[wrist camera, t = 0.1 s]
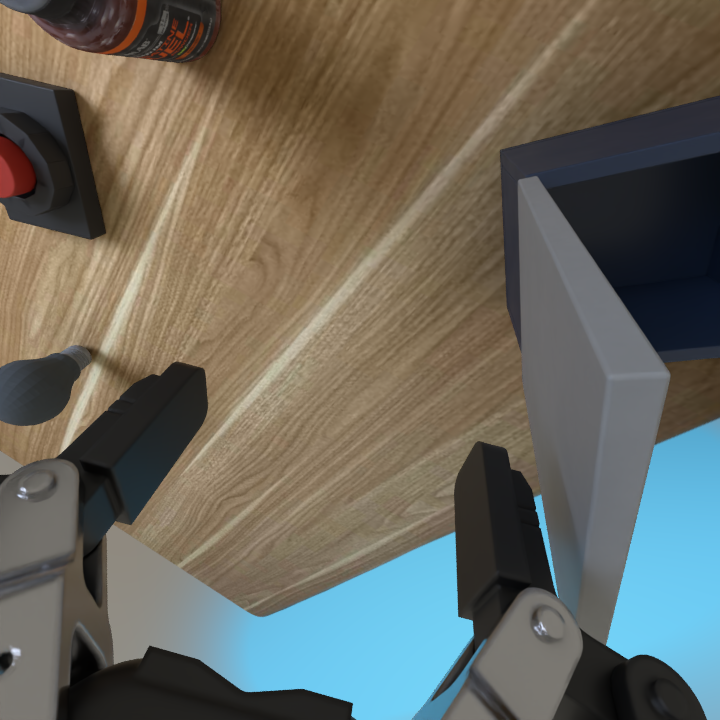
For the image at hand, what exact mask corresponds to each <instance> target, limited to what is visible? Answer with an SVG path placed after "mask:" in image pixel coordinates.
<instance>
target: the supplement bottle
mask: <svg viewBox="0 0 720 720" xmlns="http://www.w3.org/2000/svg"><path fill="white" fill-rule="evenodd" d="M0 3H1V4H3V5H5V6H6V7H8V8H10V9H12V10H15V11H18V12H22V13H25V14H28V15H29V16H30V17H31V18H32V19H33V20H34V21H35V22H36V23H37V24H38V25H39V26H40V27H41V28H42V29H43V30H44V31H46V32H47V33H49V34H50V35H51V36H52V37H54V38H55V39H57V40H59V41H60V42H62V43H64V44H66V45H67V46H70V47H72V48H75V49H78V50H82V51H86V52H92V53H100V54H106V55H116V56H125V57H134V58H144V59H151V60H158V61H167V62H175V63H180V62H181V63H183V62H191V61H195V60H197V59H199V58H201V57H203V56H204V55H205V54H206V53H207V52H208V51H209V50H210V49H211V47H212V45H213V44H214V42H215V40H216V37H217V34H218V31H219V26H220V22H221V3H220V0H0Z"/></svg>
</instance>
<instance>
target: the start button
mask: <svg viewBox="0 0 720 720" xmlns="http://www.w3.org/2000/svg"><path fill="white" fill-rule="evenodd" d="M35 185H36V174H35V171H34V168H33V165H32V163H31V162H30V160H29V159H28V157H27V156H26V155H25V153H24V152H23V151H22V149H21V148H20V147H19V146H17V145H16V144H15V143H14V142H12V141H11V140H9V139H7V138H5V137H2V136H0V198H9V197H13V196H17V195H21V194H25V193H28V192H31V191H32V190H33V189H34V187H35Z"/></svg>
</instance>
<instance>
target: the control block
mask: <svg viewBox="0 0 720 720" xmlns="http://www.w3.org/2000/svg"><path fill="white" fill-rule="evenodd" d="M0 136H2V137H5V138H7V139H9V140H11V141H12V142H14V143H15V144H16V145H17V146H19V147H20V148H21V149H22V151H23V152H24V153H25V155H26V156H27V157H28V159H29V160H30V162H31V163H32V165H33V168H34V171H35V174H36V185H35V187H34V189H33V190H32V191H31V192H28V193H25V194H21V195H17V196H13V197H9V198H0V202H1V203H2V204H3V205H5V207H6V210H7V213H8V215H9V218H10V219H11V220H15V221H19V222H23V223H27V224H31V225H35V226H39V227H43V228H47V229H51V230H55V231H59V232H63V233H67V234H71V235H75V236H79V237H83V238H87V239H94V238H96V237H99V236H101V235H103V234H105V233H106V232H105V227H104V223H103V218H102V214H101V210H100V205H99V201H98V196H97V192H96V187H95V183H94V178H93V174H92V170H91V165H90V161H89V156H88V152H87V147H86V143H85V139H84V134H83V130H82V125H81V121H80V116H79V112H78V107H77V103H76V99H75V94H74V91H73V90H72V89H67V88H63V87H59V86H55V85H51V84H46V83H42V82H38V81H34V80H30V79H25V78H21V77H17V76H13V75H9V74H4V73H0Z"/></svg>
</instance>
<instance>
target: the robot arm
mask: <svg viewBox="0 0 720 720" xmlns="http://www.w3.org/2000/svg"><path fill="white" fill-rule="evenodd" d="M207 410H208V400H207V388H206V376H205V370H204V369H203V368H200V367H197V366H193V365H189V364H185V363H181V362H174V363H172V364H171V365H170V366H169V367H168V368H167V369H166V370H165V371H164V372H163V373H162V374H161V375H160V376H158V375H154V374H152V375H150V376H148V377H146V378H144V379H142V380H140V381H138V382H136V383H134V384H133V385H132V386H131V387H130V388H129V389H128V390H127V391H126V392H125V393H123V394H122V395H121V396H120V399H119V400H116V401H115V402H114V403H113V404H112V405H111V406H110V407H109V408H108V411H105V412H104V413H103V414H102V415H101V416H100V417H99V418H98V419H97V420H95V421H94V422H93V423H92V424H91V425H90V426H89V427H88V428H87V429H86V430H85V431H84V432H83V433H82V434H81V435H80V436H79V437H78V438H77V439H76V440H75V441H74V442H73V443H72V444H71V445H70V446H68V447H67V448H66V449H65V450H64V451H63V452H62V453H61V454H60V455H59V456H58V457H56V458H53V459H44V460H40V461H36V462H33V463H30V464H28V465H26V466H24V467H21V468H20V469H18V470H17V471H15V472H14V473H12V474H10V475H0V720H356V719H355V718H353V717H352V716H351V713H352V706H353V703H350V702H347V701H343V700H340V699H336V698H333V697H329V696H326V695H322V694H318V693H315V692H312V691H308V690H305V689H294V690H278V691H263V692H244V691H242V690H240V689H239V688H237V687H236V686H234V685H233V684H232V683H230V682H229V681H228V680H226V679H225V678H224V677H222V676H221V675H219V674H218V673H216V672H215V671H214V670H213V669H211V668H210V667H208V666H207V665H205V664H204V663H203V662H201V661H200V660H198V659H195V658H191V657H188V656H184V655H181V654H177V653H174V652H170V651H167V650H163V649H159V648H156V647H152V646H149V648H148V650H147V651H146V653H145V655H144V657H143V658H142V659H134V660H129V661H124V662H121V663H118V664H115V665H114V659H113V658H114V657H113V641H112V633H111V628H110V624H109V619H108V610H107V609H108V608H107V539H106V533H107V531H108V529H110V527H111V526H112V525H113V523H114V522H115V521H118V522H121V523H125V524H129V525H132V523H133V522H134V520H135V519H136V518H137V516H138V515H139V513H140V512H141V510H142V509H143V508H144V506H145V505H146V503H147V502H148V501H149V499H150V498H151V496H152V495H153V494H154V492H155V491H156V489H157V488H158V486H159V485H160V484H161V482H162V481H163V479H164V478H165V477H166V475H167V474H168V472H169V471H170V470H171V468H172V467H173V465H174V464H175V462H176V461H177V460H178V458H179V457H180V455H181V454H182V453H183V451H184V450H185V448H186V447H187V445H188V444H189V443H190V441H191V440H192V438H193V437H194V436H195V434H196V433H197V431H198V430H199V429H200V427H201V426H202V424H203V422H204V420H205V417H206V414H207ZM454 503H455V532H456V559H457V561H456V562H457V589H458V590H457V591H458V616H459V617H461V618H465V619H469V620H472V621H473V629H474V636H473V637H472V638H471V639H470V641H469V642H468V644H467V645H466V647H465V648H464V649H463V651H462V652H461V653H460V655H459V656H458V658H457V659H456V661H455V662H454V664H453V665H452V666H451V668H450V669H449V671H448V672H447V673H446V675H445V676H444V678H443V679H442V681H441V682H440V683H439V685H438V686H437V688H436V689H435V690H434V692H433V693H432V695H431V696H430V698H429V699H428V700H427V702H426V703H425V704H424V705H423V707H422V708H421V709H420V710H419V711H418V713H417V714H416V715H415V716H414V717H413V718H412V720H707V719H706V716H705V714H704V711H703V709H702V707H701V705H700V703H699V701H698V699H697V697H696V696H695V694H694V693H693V691H692V690H691V688H690V687H689V686H688V684H687V683H686V682H685V681H684V680H683V679H682V677H681V676H680V675H679V674H678V673H677V672H676V671H674V670H673V669H672V668H671V667H670V666H668V665H667V664H666V663H664V662H663V661H661V660H659V659H657V658H655V657H652V656H649V655H637V656H635V657H633V658H631V659H629V660H628V659H626V658H624V657H623V656H621V655H620V654H618V653H617V652H615V651H613V650H612V649H610V648H609V647H607V646H606V645H604V644H602V643H601V642H599V641H598V640H596V639H594V638H593V637H591V636H590V635H588V634H587V633H586V632H584V631H583V630H582V629H581V628H580V627H579V625H578V623H577V621H576V619H575V617H574V616H573V614H572V613H571V611H570V610H569V609H568V607H567V606H566V605H565V604H564V603H563V602H562V601H561V600H560V599H559V598H558V597H557V595H556V592H555V589H554V586H553V581H552V576H551V572H550V567H549V563H548V559H547V555H546V550H545V545H544V541H543V537H542V532H541V529H540V528H539V519H538V515H537V512H536V511H535V510H536V506H535V502H534V497H533V493H532V489H531V488H530V486H529V484H528V483H527V481H526V480H525V478H524V476H523V475H522V473H521V472H520V471H516V470H512V469H511V468H510V463H509V457H508V452H507V450H506V449H505V448H503V447H499V446H495V445H491V444H488V443H484V442H480V441H478V442H476V443H475V445H474V447H473V448H472V450H471V452H470V454H469V455H468V457H467V459H466V461H465V462H464V464H463V466H462V468H461V469H460V471H459V473H458V476H457V479H456V483H455V489H454Z"/></svg>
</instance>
